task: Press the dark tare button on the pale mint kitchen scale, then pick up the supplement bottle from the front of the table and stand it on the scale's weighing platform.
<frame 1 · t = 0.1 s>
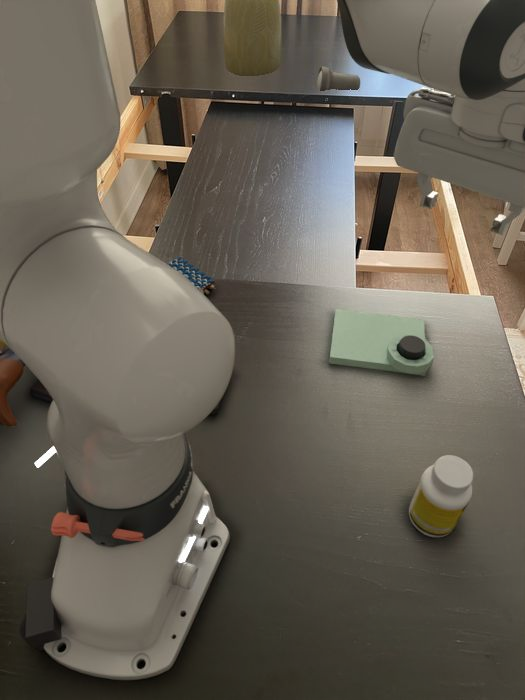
hand: (461, 218, 67), 22 cm above the table, tool pointing down, fingers open, 8 cm apart
supplement bottle: (431, 517, 62), on the table
tare button: (411, 347, 77), point 3 cm above the table, slide at 0.1 cm
vase: (252, 78, 166), on the table
pipe fitting: (340, 86, 148), point 4 cm above the table
phone: (225, 391, 75), point 1 cm above the table
woven mat: (174, 290, 92), on the table
scale: (377, 343, 83), on the table
eraser: (65, 385, 73), point 2 cm above the table
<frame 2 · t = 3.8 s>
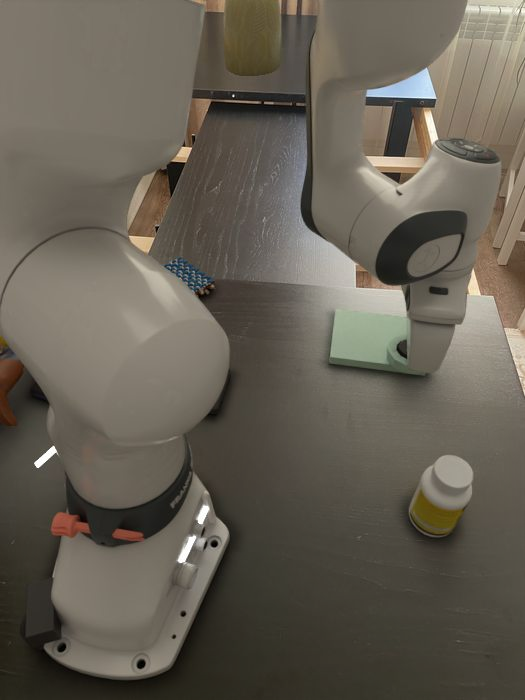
hand: (412, 346, 77), 3 cm above the table, tool pointing down, fingers closed, pressing on tare button
tare button: (410, 351, 78), point 3 cm above the table, slide at -0.6 cm, touching gripper
everything else where it was.
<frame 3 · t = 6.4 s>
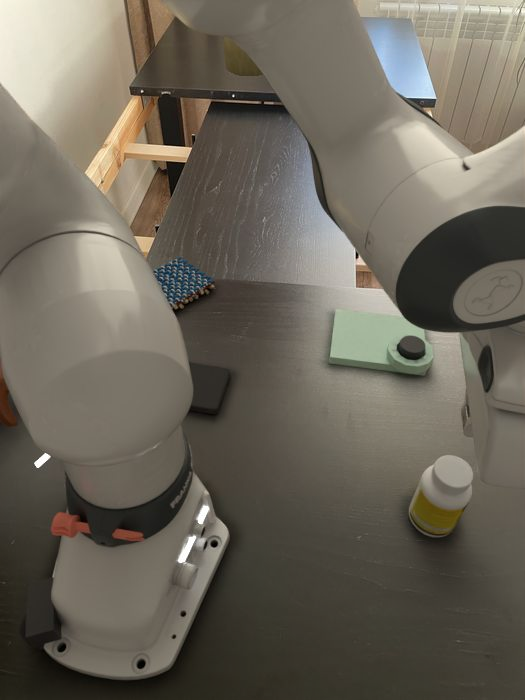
hand: (470, 425, 51), 17 cm above the table, tool pointing down, fingers closed
tare button: (411, 347, 77), point 3 cm above the table, slide at 0.1 cm
everything else where it was.
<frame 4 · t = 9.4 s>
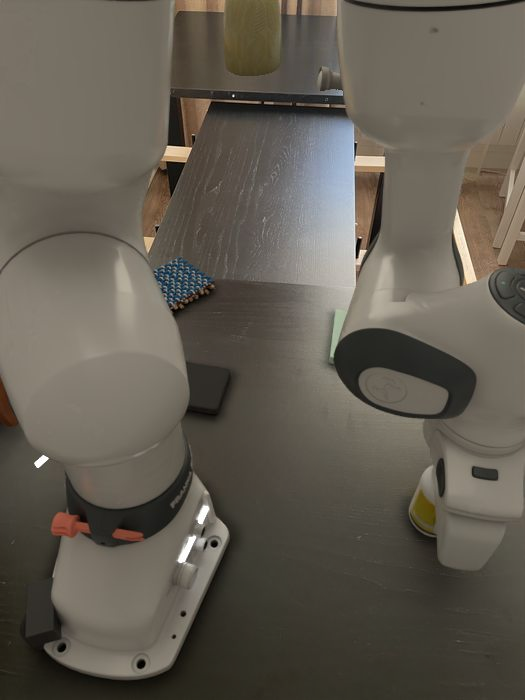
hand: (439, 501, 60), 4 cm above the table, tool pointing down, fingers closed on supplement bottle, 5 cm apart
supplement bottle: (431, 517, 62), on the table, touching gripper
everything else where it was.
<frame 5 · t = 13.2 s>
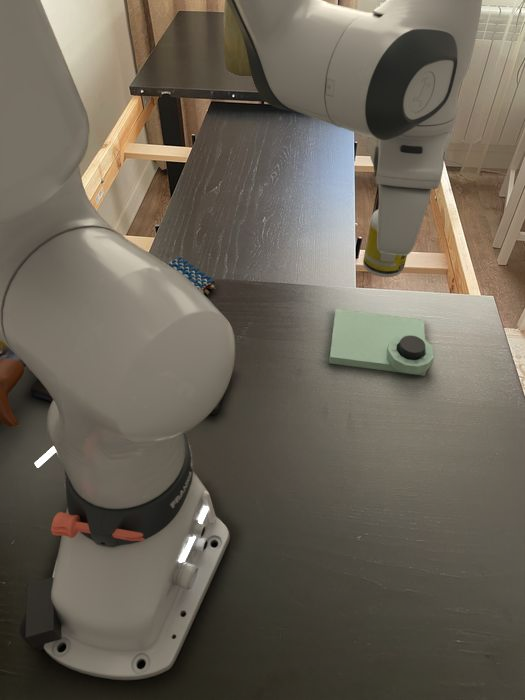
hand: (387, 243, 68), 19 cm above the table, tool pointing down, fingers closed on supplement bottle, 5 cm apart
supplement bottle: (382, 267, 71), point 15 cm above the table, touching gripper
everything else where it was.
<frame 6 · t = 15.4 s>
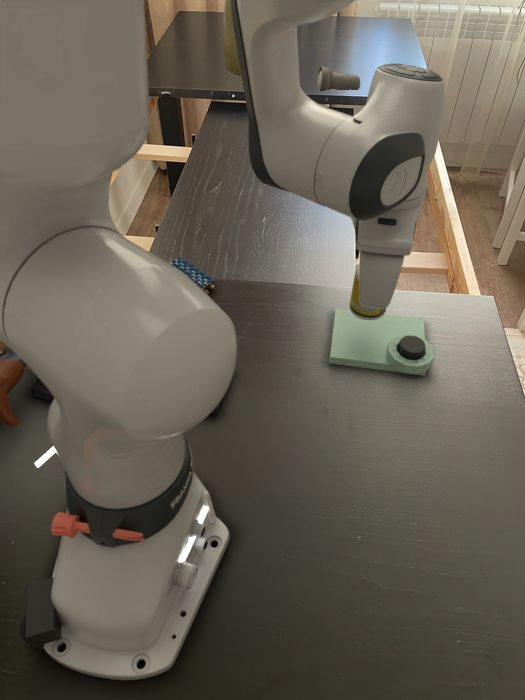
hand: (370, 290, 77), 9 cm above the table, tool pointing down, fingers closed on supplement bottle, 5 cm apart
supplement bottle: (367, 310, 80), point 5 cm above the table, touching gripper
everything else where it was.
when the fingers open (5 cm above the table, at t = 17.2 s): supplement bottle stays where it is, resting on scale.
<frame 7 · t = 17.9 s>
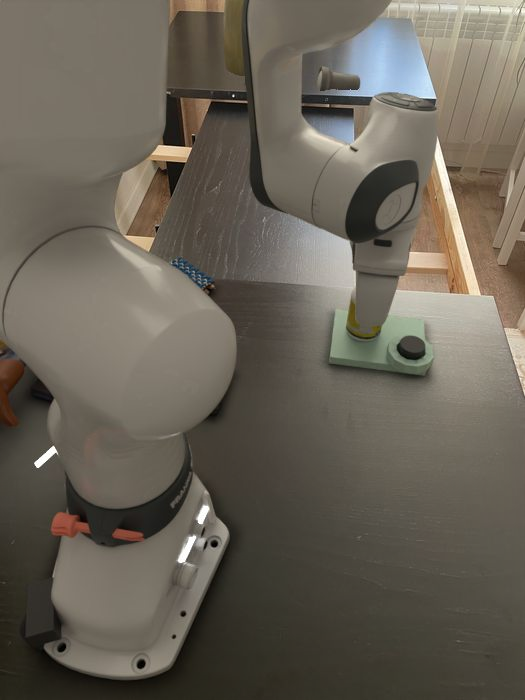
hand: (366, 307, 79), 6 cm above the table, tool pointing down, fingers open, 8 cm apart
supplement bottle: (362, 331, 83), point 1 cm above the table, touching scale
everything else where it was.
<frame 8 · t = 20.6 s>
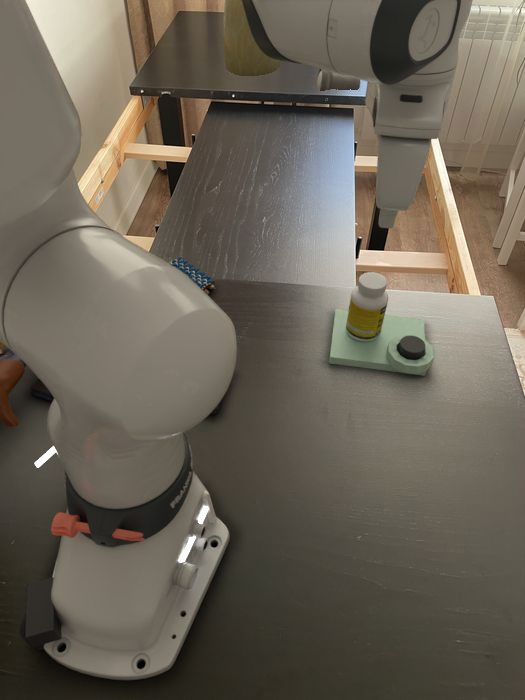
hand: (386, 204, 67), 23 cm above the table, tool pointing down, fingers open, 8 cm apart
nothing on the table moved.
at the end: tare button pushed in 0.7 cm at the most during the clip, back to where it started at the end; supplement bottle inside the target area on the scale (0.1 cm from its centre), point 1.2 cm above the scale's base; supplement bottle touching scale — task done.
